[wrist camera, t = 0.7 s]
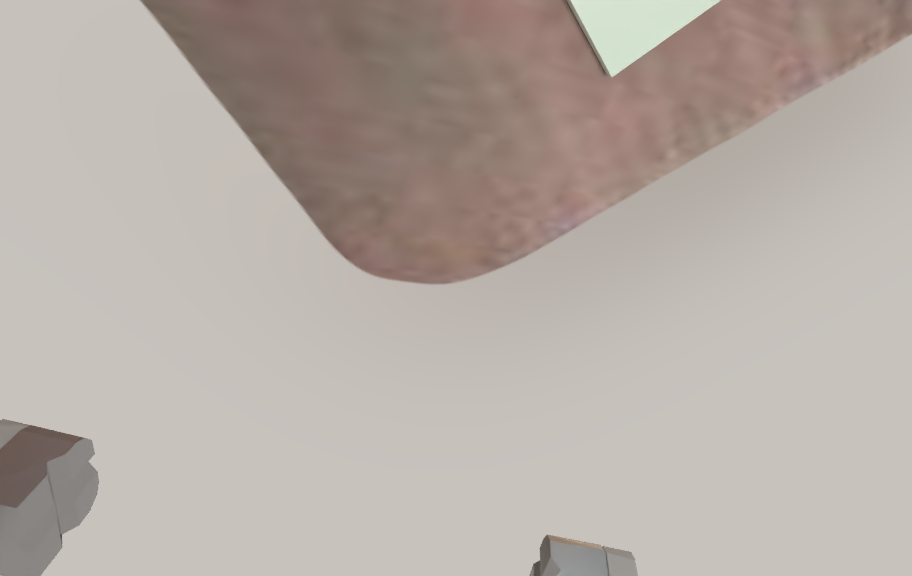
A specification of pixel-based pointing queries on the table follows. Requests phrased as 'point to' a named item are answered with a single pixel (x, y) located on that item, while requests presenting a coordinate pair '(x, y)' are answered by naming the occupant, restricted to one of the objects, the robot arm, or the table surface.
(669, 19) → the sage tile
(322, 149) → the table surface
